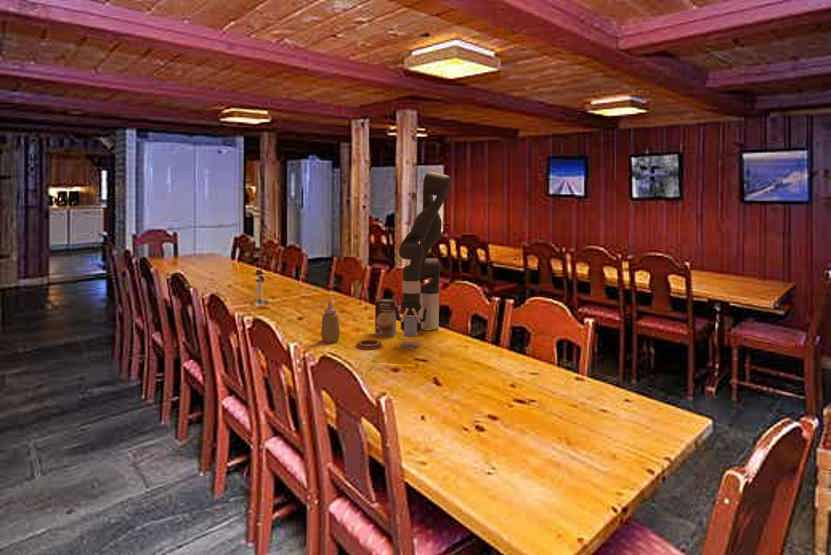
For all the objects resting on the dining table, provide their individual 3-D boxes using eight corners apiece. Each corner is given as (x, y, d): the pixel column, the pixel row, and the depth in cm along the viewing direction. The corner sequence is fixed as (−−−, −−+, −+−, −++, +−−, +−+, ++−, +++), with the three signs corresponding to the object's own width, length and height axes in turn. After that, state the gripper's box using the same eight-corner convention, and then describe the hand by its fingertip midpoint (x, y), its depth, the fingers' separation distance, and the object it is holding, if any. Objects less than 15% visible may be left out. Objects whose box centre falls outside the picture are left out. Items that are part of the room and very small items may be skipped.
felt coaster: (401, 342, 237) (401, 341, 237) (422, 343, 236) (422, 342, 236) (397, 348, 228) (397, 346, 228) (418, 349, 227) (418, 348, 227)
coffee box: (374, 336, 246) (374, 301, 244) (376, 332, 253) (376, 298, 250) (394, 337, 246) (395, 301, 243) (396, 333, 252) (396, 298, 249)
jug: (405, 334, 234) (405, 315, 233) (418, 334, 233) (419, 315, 232) (400, 339, 224) (400, 319, 223) (414, 340, 223) (414, 320, 222)
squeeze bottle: (336, 345, 231) (335, 303, 229) (318, 344, 233) (317, 302, 230) (342, 340, 239) (342, 299, 236) (325, 339, 241) (324, 298, 238)
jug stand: (359, 342, 236) (359, 337, 236) (386, 344, 234) (386, 339, 233) (350, 350, 224) (350, 345, 224) (379, 352, 222) (379, 347, 222)
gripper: (392, 292, 226) (392, 332, 228) (427, 293, 223) (426, 334, 226) (395, 288, 233) (395, 328, 236) (429, 290, 231) (429, 329, 233)
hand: (411, 330), depth 231 cm, fingers closed on jug, 5 cm apart
